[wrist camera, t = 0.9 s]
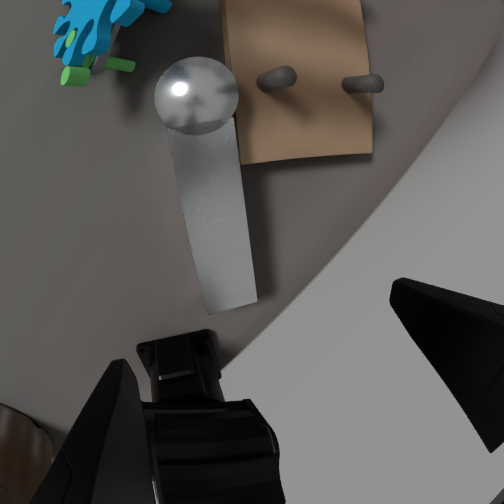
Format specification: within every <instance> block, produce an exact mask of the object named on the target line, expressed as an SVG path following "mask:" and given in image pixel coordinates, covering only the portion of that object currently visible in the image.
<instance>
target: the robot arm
mask: <svg viewBox="0 0 504 504" xmlns="http://www.w3.org/2000/svg"><path fill="white" fill-rule="evenodd" d="M389 301H390V305H391V307H392V308H393V309H394V311H395V313H396V314H397V316H398V318H399V319H400V321H401V322H402V324H403V325H404V327H405V329H406V330H407V332H408V333H409V335H410V336H411V338H412V339H413V341H414V342H415V343H416V345H417V346H418V347H419V348H420V350H421V351H422V353H423V354H424V355H425V356H426V358H427V359H428V361H429V362H430V363H431V365H432V366H433V367H434V369H435V370H436V371H437V373H438V374H439V376H440V377H441V379H442V380H443V381H444V383H445V384H446V386H447V387H448V388H449V390H450V391H451V393H452V394H453V396H454V397H455V399H456V400H457V402H458V403H459V405H460V406H461V408H462V409H463V411H464V412H465V414H466V415H467V417H468V419H469V420H470V422H471V423H472V425H473V427H474V428H475V430H476V431H477V433H478V435H479V436H480V438H481V439H482V441H483V443H484V445H485V446H486V448H487V449H488V451H489V452H490V453H492V452H493V451H494V450H496V449H497V448H498V447H499V446H500V445H501V444H502V443H503V442H504V305H500V304H496V303H493V302H490V301H486V300H482V299H479V298H476V297H472V296H469V295H465V294H462V293H458V292H454V291H451V290H447V289H444V288H440V287H436V286H433V285H429V284H426V283H422V282H419V281H415V280H411V279H408V278H399V279H397V280H395V281H394V282H393V284H392V289H391V294H390V299H389ZM204 335H207V336H204ZM136 351H137V353H138V355H139V357H140V359H141V361H142V363H143V365H144V367H145V369H146V371H147V373H148V375H149V377H150V381H151V394H152V402H143V401H141V400H140V394H139V388H138V382H137V379H136V376H135V374H134V373H133V371H132V369H131V367H130V366H129V364H128V362H127V361H126V360H125V359H117V360H113V361H111V363H110V364H109V366H108V367H107V369H106V371H105V372H104V374H103V375H102V377H101V379H100V380H99V382H98V384H97V385H96V387H95V389H94V390H93V392H92V394H91V395H90V397H89V399H88V400H87V402H86V404H85V405H84V407H83V409H82V411H81V412H80V414H79V416H78V418H77V419H76V421H75V423H74V425H73V426H72V428H71V430H70V432H69V434H68V435H67V437H66V439H65V441H64V443H63V445H62V446H61V449H62V450H61V449H60V450H59V452H58V454H57V456H56V458H55V459H54V461H53V463H52V465H51V467H50V468H49V470H48V472H47V474H46V475H45V477H44V479H43V480H42V482H41V483H40V485H39V487H38V488H37V490H36V491H35V493H34V494H33V496H32V498H31V499H30V501H29V502H28V504H156V500H155V495H154V489H153V483H152V481H153V482H154V488H155V493H156V497H157V500H158V503H159V504H285V502H286V501H285V496H284V493H283V489H282V485H281V480H280V473H279V457H280V451H279V444H278V441H277V437H276V435H275V433H274V431H273V429H272V428H271V427H270V425H269V424H268V423H267V421H266V420H265V419H264V417H263V416H262V415H261V413H260V412H259V411H258V409H257V408H256V407H255V405H254V404H253V402H252V401H251V399H243V400H242V401H228V402H225V400H224V397H223V394H222V390H221V387H220V383H219V379H220V378H221V372H220V368H219V364H218V361H217V357H216V353H215V349H214V345H213V341H212V337H211V334H210V331H208V330H200V331H196V332H192V333H187V334H183V335H178V336H173V337H169V338H164V339H159V340H154V341H149V342H144V343H140V344H138V345H137V346H136ZM490 504H504V488H503V489H502V491H501V492H500V493H499V494H498V495H497V496H496V497H495V498H494V500H493V501H492V502H491V503H490Z"/></svg>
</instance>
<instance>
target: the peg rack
mask: <svg viewBox="0 0 504 504" xmlns="http://www.w3.org/2000/svg"><path fill="white" fill-rule="evenodd" d="M219 3H220V14H221V24H222V35H223V46H224V56H225V66H226V67H227V68H228V69H229V70H230V71H231V73H232V74H233V76H234V78H235V80H236V82H237V85H238V91H239V98H238V104H237V107H236V110H235V112H234V114H233V115H232V117H234V125H235V132H236V140H237V148H238V155H239V163H240V165H245V164H252V163H260V162H268V161H276V160H285V159H294V158H304V157H316V156H328V155H342V154H360V153H372V104H371V93H380V92H381V91H382V90H383V89H384V82H383V79H382V78H381V77H380V76H379V75H377V74H371V75H370V73H369V62H368V53H367V44H366V36H365V29H364V22H363V16H362V10H361V4H360V0H219Z"/></svg>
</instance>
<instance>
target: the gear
mask: <svg viewBox="0 0 504 504" xmlns="http://www.w3.org/2000/svg"><path fill="white" fill-rule="evenodd" d="M62 4H64V5H69V6H71V10H70V12H69V14H68V15H67V16H60V17H59V18H58V19H57V22H56V24H55V28H54V31H53V34H57V35H65V36H63V37H60V38H59V39H58V40H57V42H56V43H55V46H54V58H63V59H62V60H63V63H64V64H65V65H67V67H66V68H65V69H64V71H63V73H62V76H61V85H65V86H82V87H84V86H86V85H87V83H88V81H89V79H90V74H99V73H100V72H101V71H102V70H103V69H104V68H109V69H115V70H121V71H126V72H132V71H133V70H134V68H135V62H134V61H130V60H126V59H121V58H116V57H111V56H109V55H110V52H111V49H112V47H113V44H114V41H115V39H116V36H117V34H118V31H119V29H120V26H121V25H122V26H125V27H128V26H129V25H131V24H132V23H133V22H134V21H135V20H136V19H137V18H138V17H139V16H140V15H141V14H142V13H143V12H144V9H145V7H146V8H149V9H151V10H154V11H156V12H159V13H161V14H164V13H166V12H168V11H169V10H170V8H171V6H172V2H171V1H169V0H63V2H62ZM71 66H75V67H71Z"/></svg>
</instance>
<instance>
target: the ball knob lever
mask: <svg viewBox="0 0 504 504" xmlns="http://www.w3.org/2000/svg"><path fill="white" fill-rule="evenodd" d="M238 98H239V91H238V85H237V82H236V80H235V78H234V76H233V74H232V73H231V71H230V70H229V69H228V68H227V67H226V66H224V65H223V64H222V63H220V62H218V61H216V60H214V59H211V58H207V57H190V58H186V59H183V60H180V61H178V62H176V63H174V64H173V65H171V66H170V67H169V68H168V69H167V70H166V71H165V72H164V73H163V74H162V76H161V77H160V79H159V81H158V83H157V86H156V89H155V95H154V101H155V107H156V110H157V113H158V115H159V117H160V118H161V120H162V121H163V122H164V123H165V124H166V125H167V126H168V127H169V128H167V131H168V137H169V143H170V149H171V155H172V160H173V165H174V171H175V176H176V181H177V186H178V191H179V196H180V201H181V206H182V211H183V215H184V220H185V225H186V229H187V234H188V238H189V242H190V247H191V251H192V255H193V259H194V264H195V268H196V272H197V276H198V280H199V284H200V288H201V291H202V295H203V299H204V302H205V306H206V309H207V313H208V315H210V314H214V313H218V312H221V311H225V310H229V309H233V308H236V307H240V306H243V305H247V304H251V303H254V302H258V301H257V293H256V286H255V278H254V271H253V263H252V255H251V248H250V240H249V232H248V225H247V217H246V209H245V202H244V194H243V186H242V178H241V171H240V163H239V155H238V148H237V140H236V132H235V125H234V117H232V115H233V114H234V112H235V110H236V107H237V104H238Z"/></svg>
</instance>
